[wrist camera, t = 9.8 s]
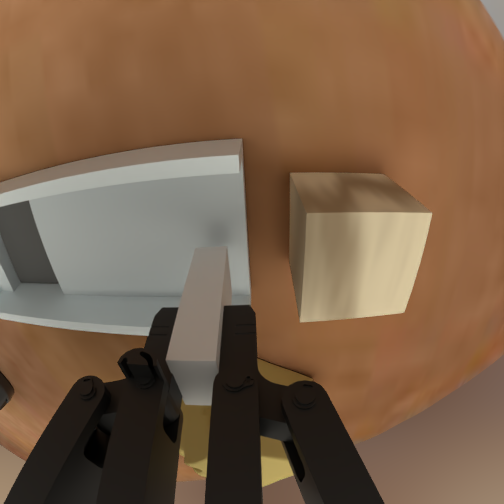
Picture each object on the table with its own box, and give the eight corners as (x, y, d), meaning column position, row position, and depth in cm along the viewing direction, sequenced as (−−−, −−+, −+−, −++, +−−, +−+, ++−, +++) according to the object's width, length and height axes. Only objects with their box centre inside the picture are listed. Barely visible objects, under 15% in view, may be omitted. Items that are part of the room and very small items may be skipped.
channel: (9, 287, 22) (-14, 316, 18) (-28, 192, 16) (-59, 214, 12) (251, 290, 21) (250, 336, 17) (242, 138, 15) (238, 154, 12)
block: (299, 322, 14) (404, 312, 14) (306, 213, 11) (432, 213, 11) (288, 259, 20) (371, 255, 19) (289, 172, 17) (383, 173, 16)
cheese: (179, 389, 28) (165, 471, 20) (231, 338, 24) (224, 448, 15) (257, 415, 31) (258, 489, 23) (320, 375, 27) (335, 465, 18)
